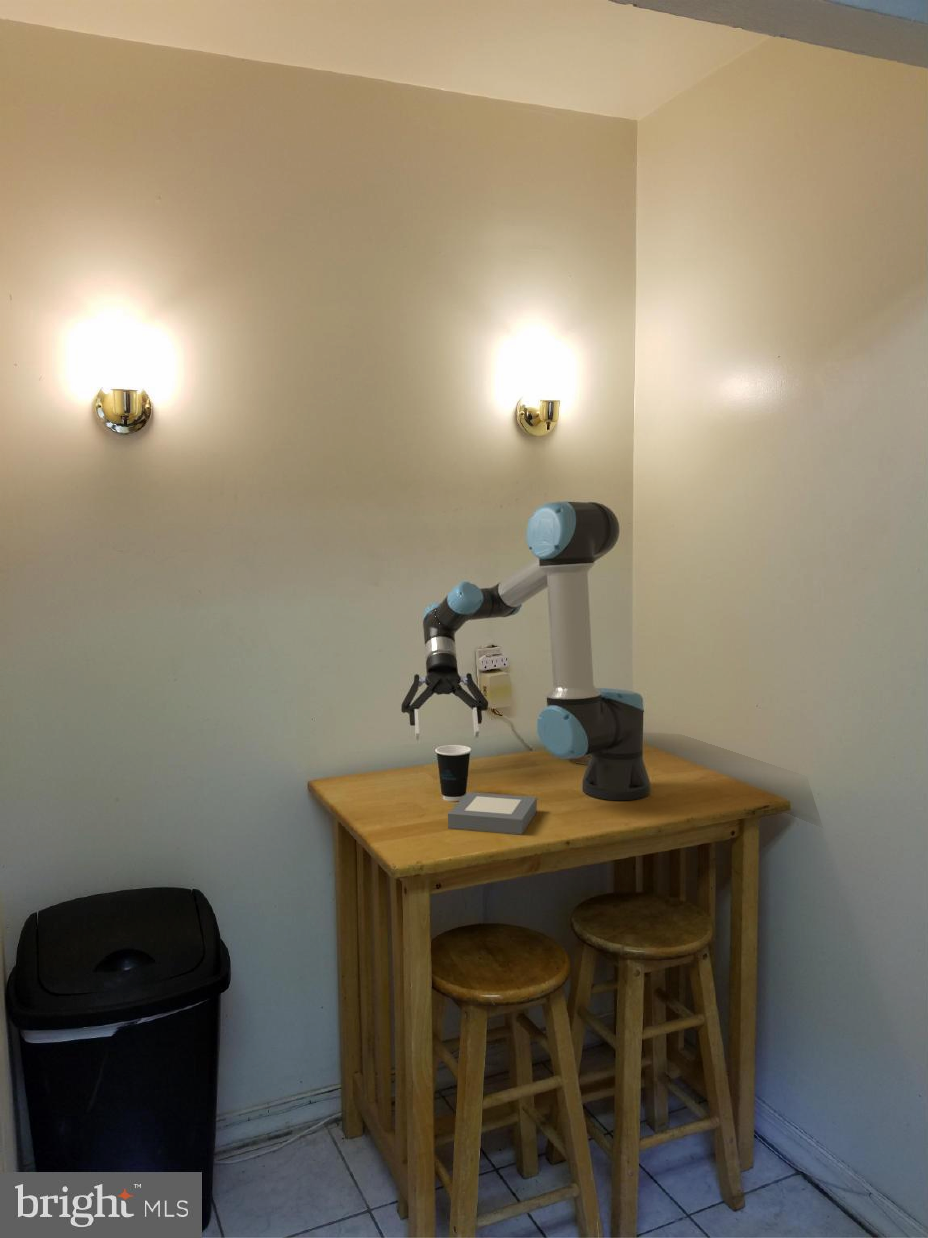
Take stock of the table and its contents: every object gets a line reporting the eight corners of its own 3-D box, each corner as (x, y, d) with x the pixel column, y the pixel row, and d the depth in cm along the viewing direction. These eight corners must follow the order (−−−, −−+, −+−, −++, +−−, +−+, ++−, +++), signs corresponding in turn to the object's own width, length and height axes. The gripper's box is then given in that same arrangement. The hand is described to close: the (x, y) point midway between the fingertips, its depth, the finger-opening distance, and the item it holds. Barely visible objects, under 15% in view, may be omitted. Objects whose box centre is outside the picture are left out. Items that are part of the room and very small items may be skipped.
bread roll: (580, 780, 230) (589, 754, 226) (556, 755, 237) (565, 730, 233) (609, 774, 235) (619, 749, 231) (585, 749, 242) (594, 725, 239)
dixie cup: (467, 791, 208) (467, 744, 207) (475, 802, 201) (474, 752, 199) (433, 793, 207) (432, 745, 206) (439, 804, 199) (438, 754, 198)
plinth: (536, 811, 194) (536, 796, 194) (521, 834, 180) (521, 819, 179) (468, 805, 198) (467, 791, 198) (447, 828, 184) (447, 813, 183)
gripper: (490, 668, 228) (499, 742, 215) (389, 670, 225) (392, 745, 212) (493, 649, 222) (503, 725, 209) (389, 652, 219) (392, 728, 206)
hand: (447, 735), depth 210 cm, fingers open, 13 cm apart
